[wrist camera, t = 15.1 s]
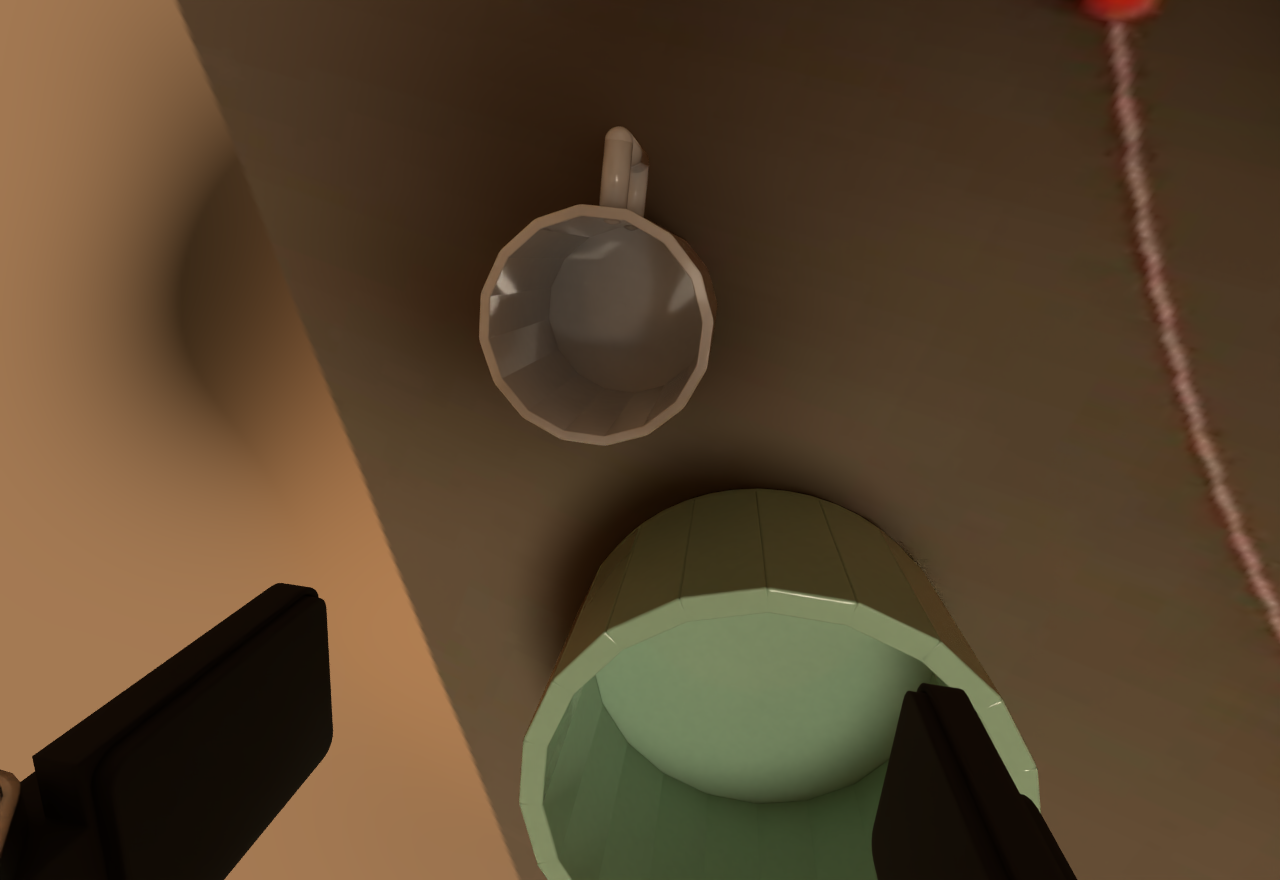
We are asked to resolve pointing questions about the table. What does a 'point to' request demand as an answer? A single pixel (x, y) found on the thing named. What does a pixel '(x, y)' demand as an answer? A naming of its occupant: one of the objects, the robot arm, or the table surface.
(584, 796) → the pot
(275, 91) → the table surface
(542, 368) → the mug
